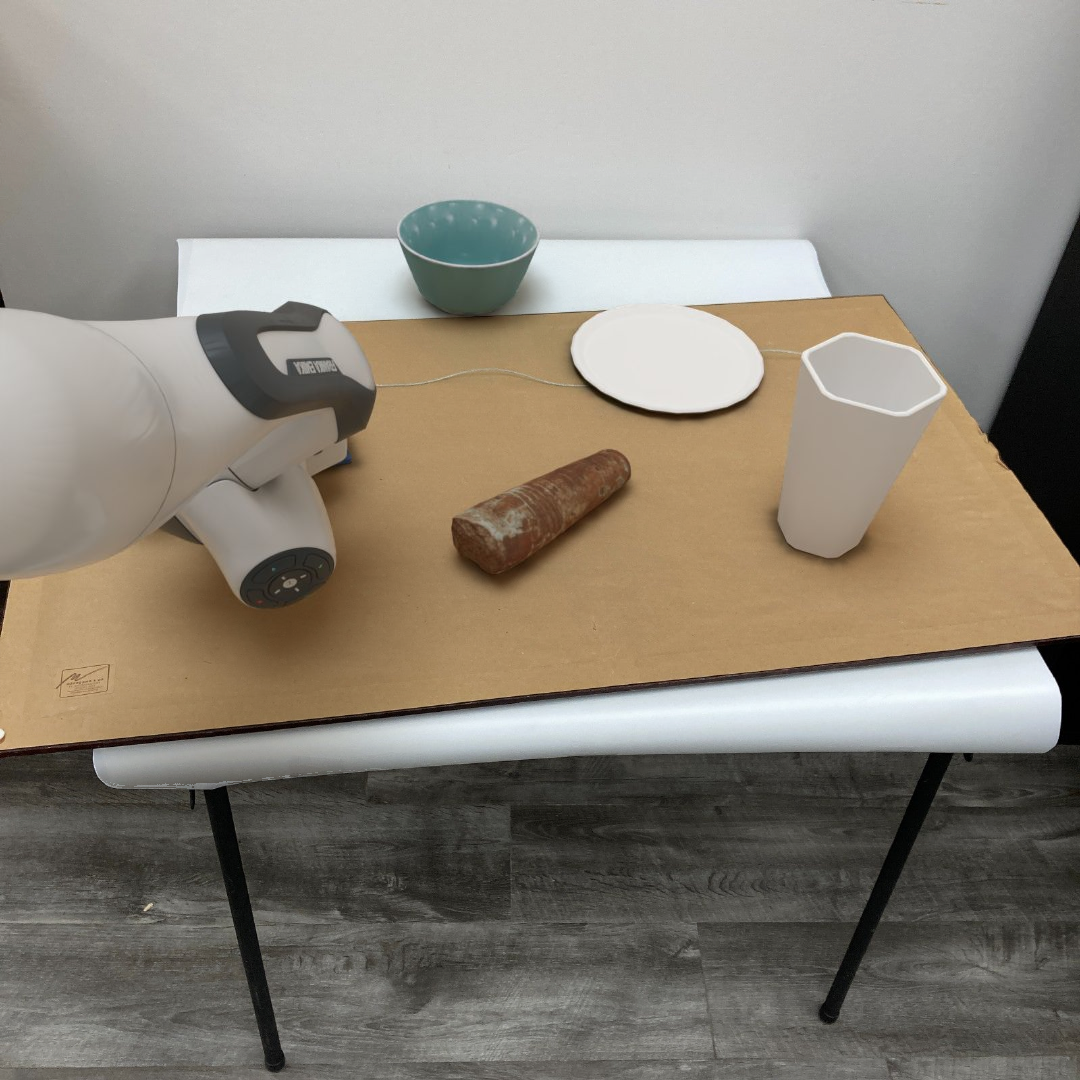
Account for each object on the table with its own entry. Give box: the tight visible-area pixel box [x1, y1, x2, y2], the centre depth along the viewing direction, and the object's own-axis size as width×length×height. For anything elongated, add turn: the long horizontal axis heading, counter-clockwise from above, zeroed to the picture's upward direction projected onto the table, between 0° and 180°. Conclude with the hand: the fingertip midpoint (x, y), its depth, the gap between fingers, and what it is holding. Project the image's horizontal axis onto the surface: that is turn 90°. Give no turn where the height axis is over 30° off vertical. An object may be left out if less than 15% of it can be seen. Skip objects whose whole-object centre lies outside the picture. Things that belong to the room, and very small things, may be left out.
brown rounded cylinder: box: [450, 448, 632, 575], centre depth 84 cm, size 6×19×6 cm, turn 133°
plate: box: [570, 302, 765, 416], centre depth 105 cm, size 21×21×1 cm
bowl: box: [396, 198, 541, 317], centre depth 110 cm, size 16×16×8 cm
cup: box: [776, 331, 948, 559], centre depth 82 cm, size 11×10×17 cm
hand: (210, 359), depth 89 cm, fingers open, 8 cm apart
